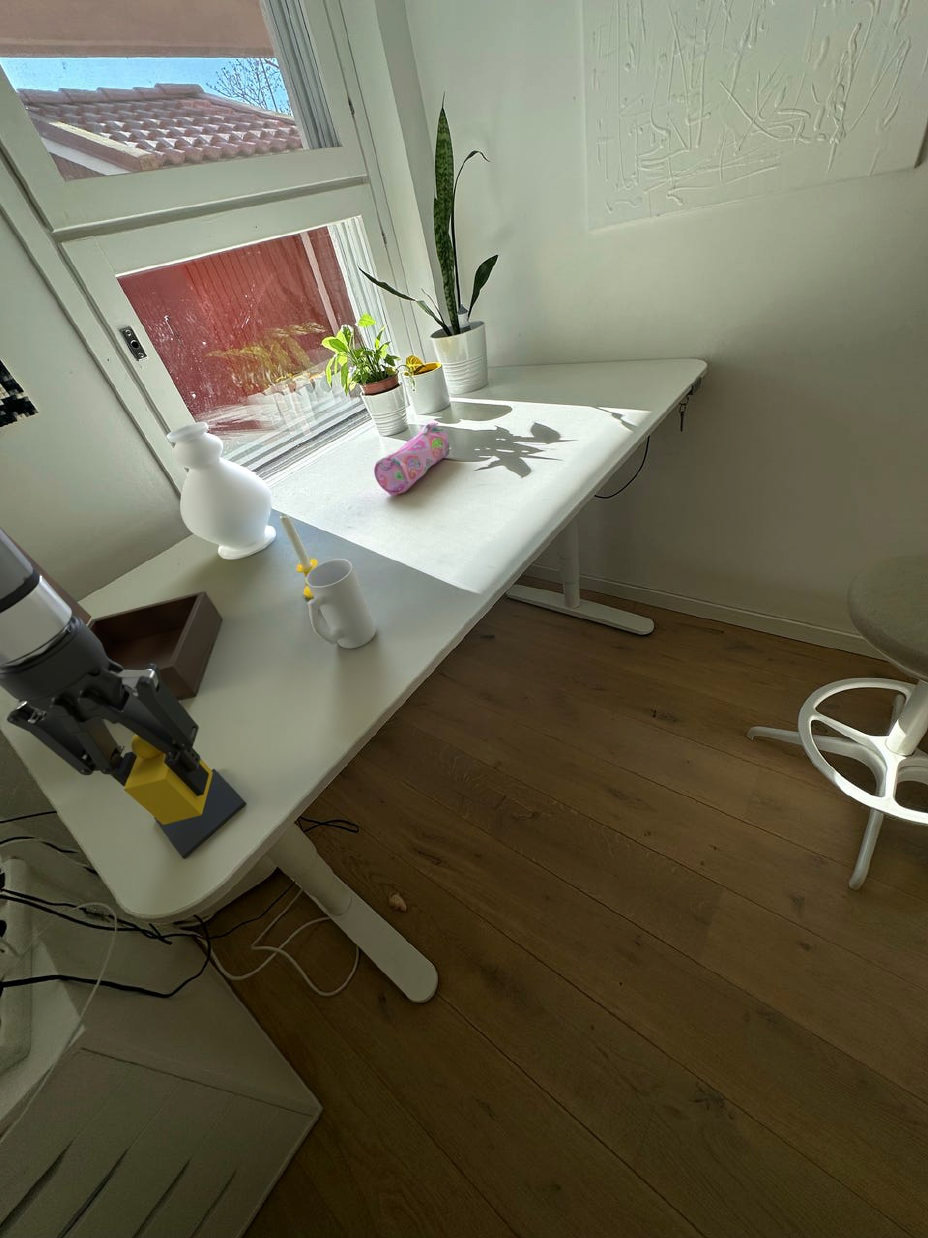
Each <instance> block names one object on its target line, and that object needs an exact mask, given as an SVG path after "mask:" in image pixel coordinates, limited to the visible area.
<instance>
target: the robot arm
mask: <svg viewBox="0 0 928 1238" xmlns="http://www.w3.org/2000/svg"><path fill="white" fill-rule="evenodd" d="M87 626H88V625H87V624H86V625H85V623H84V622H83V621H82V620H81V619H80V618H79V617H77V616H74V615H72V611H71V608H70V607H69V606H68V605H67V604H66V603H65V602H64V600H63V599H62V598H61V597H60V596H59V595H58V594H57V593H56V591H55V590H54V589H53V588H52V587H51V586H50V585H49V584H48V583H47V581H46V580H45V579H44V578H43V577H42V576H41V575H40V574H39V573H38V572H37V570H36V569H35V568H34V567H33V566H32V565H31V564H30V562H29V561H28V560H27V559H26V558H25V557H24V556H23V554H22V553H21V552H20V551H19V550H18V549H17V547H16V546H15V545H14V544H13V543H12V542H11V540H10V539H9V538H8V537H7V536H6V535H5V534H4V532H3V531H2V530H1V529H0V687H1V688H2V689H4V691H6V692H7V694H9V695H10V696H11V697H12V698H14V699H16V700H18V701H17V702H16V704H15V705H14V707H13V708H12V709H11V711H10V712H9V713H8V716H7V717H6V721H7V722H8V723H10V724H11V725H14V726H15V727H18V728H20V729H22V730H24V731H27V732H28V733H30V734H31V735H33V737H35V738H36V739H37V740H38V741H39V742H41V743H42V744H43V745H45V746H46V747H47V748H48V749H50V751H52V752H53V753H55V754H56V755H57V756H58V757H59V758H61V759H62V760H63V761H64V762H66V763H67V764H68V765H69V766H71V768H73V769H74V770H75V771H77V773H79V774H81V775H83V776H90V775H93V774H94V772H101V774H103V775H110V776H111V777H112V778H113V779H114V780H115V781H117V782H118V783H119V784H120V785H121V786H122V787H123V788H124V787H125V785H126V782H127V780H128V778H129V775H130V773H131V770H132V768H133V765H134V763H135V761H136V758H137V755H136V754H135V753H134V752H133V750H132V751H127V752H124V750H125V747H126V746H125V745H124V744H123V745H119V743H117V740H116V739H115V737H114V736H113V734H112V732H111V731H110V729H109V727H108V725H106V723H105V721H104V720H106V721H108V722H109V723H110V724H112V725H116V724H120V725H121V726H123V727H124V728H126V729H127V730H129V731H130V732H132V733H133V734H134V735H135V734H136V735H138V736H139V737H141V738H142V739H144V740H145V741H146V742H148V743H149V744H151V745H152V746H154V747H155V748H157V749H158V750H160V751H161V752H163V753H164V754H166V757H165V760H164V763H165V764H166V765H167V766H168V767H169V768H170V769H171V770H172V771H173V772H174V773H175V774H176V775H177V776H178V777H179V778H180V779H181V780H182V781H183V782H184V783H185V784H186V785H187V786H188V787H189V788H190V789H191V790H192V791H193V792H194V793H195V794H196V795H197V796H200V795H204V792H205V788H206V784H207V780H208V777H209V773H208V772H207V771H206V770H205V769H204V767H203V766H202V765H201V764H200V760H202V758H201V755H200V754H199V753H198V752H197V751H196V750H195V749H194V744H195V741H196V738H197V736H198V731H199V728H200V727H199V725H198V724H197V722H196V721H195V720H194V719H193V717H192V716H191V715H190V714H189V713H188V711H187V710H186V709H185V708H184V706H183V705H182V703H180V700H179V701H178V700H177V699H176V698H175V696H174V695H173V694H172V693H171V692H170V690H169V689H168V688H167V687H166V685H165V684H164V683H163V682H162V679H161V675H160V671H159V668H158V666H157V665H155V664H147V665H145V667H144V669H143V670H125V669H124V668H123V667H122V666H121V665H119V664H117V663H115V662H113V661H112V660H110V659H109V658H108V657H107V656H106V653H105V651H104V648H103V645H102V643H101V642H100V640H99V639H98V638H97V637H96V636H95V635H94V634H93V632H92V631H91V630H90V629H89V628H88V627H87ZM126 685H127V686H129V687H130V688H131V689H132V690H131V689H130V688H129V687H127V686H126ZM137 696H139V698H140V700H141V701H140V700H138V698H137ZM101 716H102V717H103V718H105V719H104V720H102V718H101ZM123 752H124V755H123V756H122V754H123ZM84 756H85V758H84Z"/></svg>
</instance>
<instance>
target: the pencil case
mask: <svg viewBox="0 0 928 1238" xmlns="http://www.w3.org/2000/svg"><path fill="white" fill-rule="evenodd" d="M437 425H439V422H429V423H427V424H426V425H424V426H422V427H421V428H420V430H419V432H418V433H417V435H415V436H414V437H413V438H411V439H410V440H408V441H407V442H406V443H404V445H401V447H400V448H399V449H397V450H396V451H395V452H392V453H390V454H387V455H386V456H384V457H382V458H380V459H379V460H377V461H376V463H375V465H374V469H373V473H374V477H375V480H376V482H377V484H378V485H379V486H380V487H381V488H382V490H383V491H385V492H386V493H388V494H389V495H391V496H397V495H401V494H404V493H406V492H407V491H408V490H410V488H412V487H413V485H414V484H415V482H417V481H418V480H419V479H420V478H421V477H423V476H424V475H425V474H426V473H427V471H428V469H430V468H431V467H432V466H434V465H436V464H437V463H438V462H440V461H441V460H442V459H445V458H447V457H448V456H449V454H450V449H451V448H450V440H449V436H448V433H447V432H446V430H444V429H443V428H441V427H439V426H437Z"/></svg>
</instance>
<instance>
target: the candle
mask: <svg viewBox="0 0 928 1238" xmlns="http://www.w3.org/2000/svg"><path fill="white" fill-rule="evenodd" d="M278 517H279V519H280V522H281V524H282V527H283V529H284V532H285V533H286V535H287V538H288V540H289V542H290V545H291V546H292V549H293V550H294V552H295V554H296V556H297V559H298V561H299V563H298V564H297V565H296V566H295V570H296V572H297V573H303V576H304V577H305V580H304V584H305V585H306V586H305V588H304V589H303V591H302V592H303V595H304V597H305V598H306V599H310V600H311V599H314V597H313V595H312V593H311V591H310V589H309V587H308V585H307V583H306V577H307V575H308V573H309V572H310V571H311V570H312V569H313V568H315V567H316V566H318V565H319V560H317V559H316V558H310V557H309V554H308V552H307V550H306V548H305V546H304V544H303V542H302V540H301V537H300V535H299V534H298V531H297V529H296V527H295V525H294V523H293V520H292V519H291V518H290V515H288V514H284V513H282V514H281V515H280V516H278Z"/></svg>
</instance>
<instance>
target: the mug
mask: <svg viewBox="0 0 928 1238" xmlns="http://www.w3.org/2000/svg"><path fill="white" fill-rule="evenodd" d="M305 579H306V583H307V585H308V587H309V589H310V591H311V593H312V595H313V597H314V599H310V600H309V601H308V602H306V605H307V607H308V616H309V622H310V625H311V628H312V629H313V631H314V633H315V634H316V635H317V637H319V639H321V640H322V641H323V642H325V643H326V644H328V645H332V646H333V645H335V644H336V643H337V645H338V646H339V647H342V648H343V649H357V648H360V647H362V646H365V645H366V644H368V643H369V642H370V641H371V640H372V639H373V638H374V637H375V635H376V633H377V629H376V624H375V622H374V619H373V616H372V613H371V611H370V608H369V606H368V602H367V600H366V598H365V595H364V592H363V590H362V587H361V585H360V582H359V579H358V576H357V574H356V571H355V569H354V567H353V564H352V562H351V561H349V560H348V559H345V558H333V559H329V560H326V561H324V562H321V563H318V564H317V566H316V567H315V568H313V569H312V570H311V571H310V572H309V573H308V575H307V577H305ZM307 585H306V586H307ZM319 610H320V612H321V614H322V616H323V619H324V620H325V622H326V623H327V626H328V627H329V629H330V632H329V633H327V632H326V631H325V630H324V629H323V628H322V626H321V624H320V621H319Z"/></svg>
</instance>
